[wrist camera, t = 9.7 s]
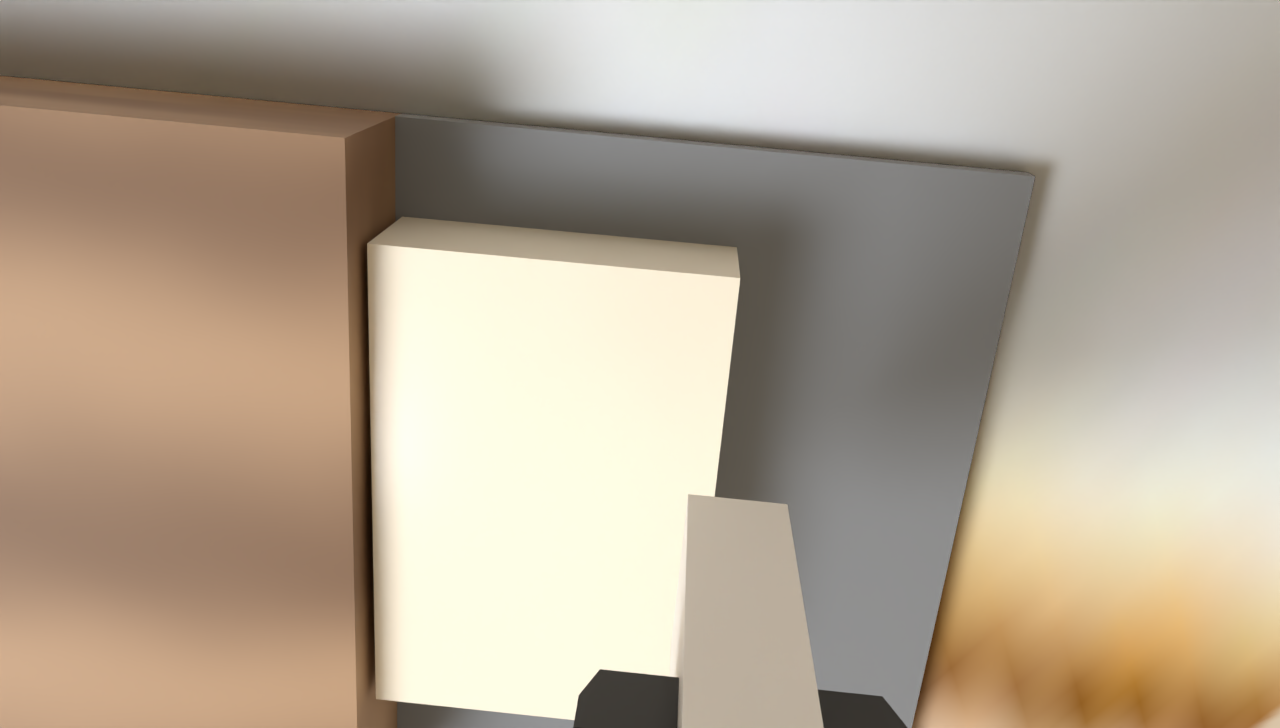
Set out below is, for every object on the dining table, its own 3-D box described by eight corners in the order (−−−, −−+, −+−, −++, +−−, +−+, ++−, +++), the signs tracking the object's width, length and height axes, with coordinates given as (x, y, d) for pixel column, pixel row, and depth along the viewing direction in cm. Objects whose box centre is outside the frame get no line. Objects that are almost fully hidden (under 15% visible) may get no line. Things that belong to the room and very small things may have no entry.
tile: (402, 216, 18) (367, 243, 16) (737, 247, 18) (740, 278, 16) (404, 636, 21) (375, 698, 19) (688, 665, 21) (686, 732, 19)
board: (-366, 41, 18) (-562, 51, 15) (401, 113, 18) (344, 138, 15) (-200, 677, 23) (-324, 772, 20) (402, 744, 23) (359, 851, 20)
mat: (401, 113, 18) (395, 115, 17) (1028, 172, 17) (1034, 176, 17) (402, 744, 23) (397, 757, 22) (889, 798, 22) (892, 813, 22)
